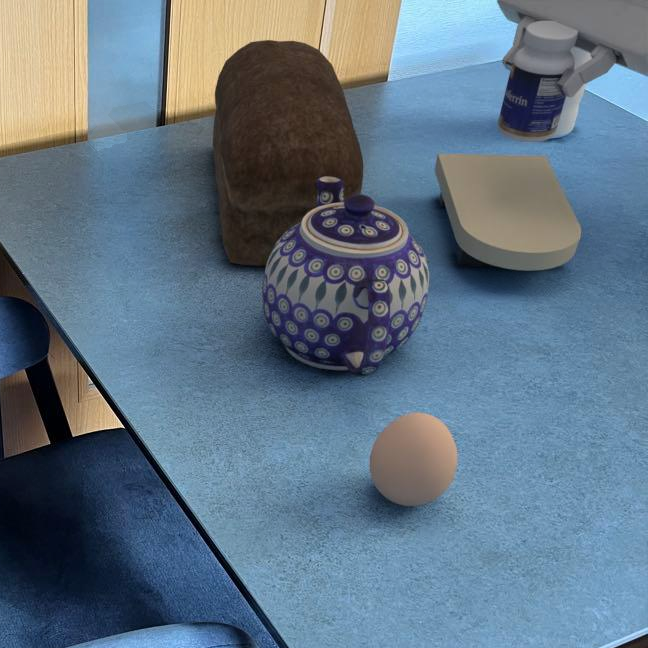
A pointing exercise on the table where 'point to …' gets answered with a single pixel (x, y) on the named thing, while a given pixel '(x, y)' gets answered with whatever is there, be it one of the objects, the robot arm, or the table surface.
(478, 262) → the beige rounded board
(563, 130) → the water bottle
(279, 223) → the bread
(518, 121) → the pill bottle
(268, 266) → the teapot
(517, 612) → the table surface
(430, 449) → the egg
